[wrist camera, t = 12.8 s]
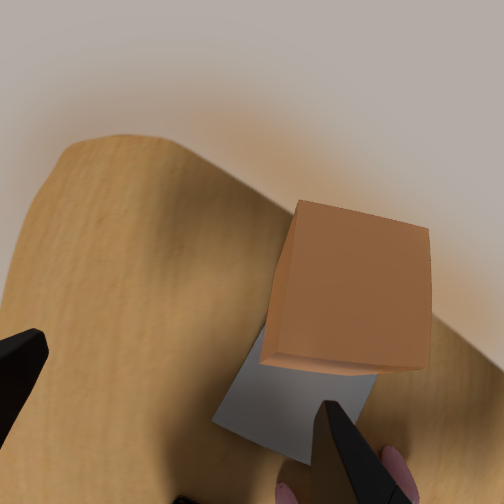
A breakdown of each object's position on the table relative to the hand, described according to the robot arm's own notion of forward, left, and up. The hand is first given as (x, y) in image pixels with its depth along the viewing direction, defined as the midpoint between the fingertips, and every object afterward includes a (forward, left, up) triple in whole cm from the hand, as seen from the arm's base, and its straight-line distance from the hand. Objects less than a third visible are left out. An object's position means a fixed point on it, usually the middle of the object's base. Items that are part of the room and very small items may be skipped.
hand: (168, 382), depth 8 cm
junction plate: (+4, -6, -14) cm, 15 cm away
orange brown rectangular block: (+7, -5, -12) cm, 15 cm away
